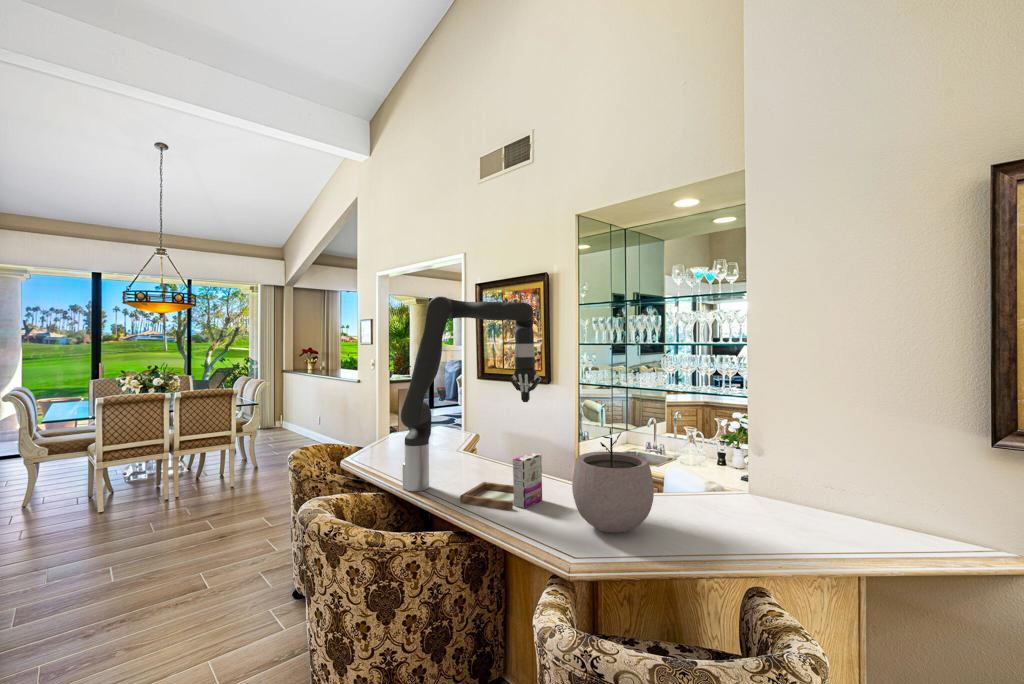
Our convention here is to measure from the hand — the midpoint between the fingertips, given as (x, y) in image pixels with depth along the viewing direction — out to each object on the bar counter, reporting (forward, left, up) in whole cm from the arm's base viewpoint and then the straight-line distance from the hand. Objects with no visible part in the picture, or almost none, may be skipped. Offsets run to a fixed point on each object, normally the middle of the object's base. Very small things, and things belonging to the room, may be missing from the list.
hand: (525, 401), depth 177 cm
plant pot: (+37, -22, -34) cm, 55 cm away
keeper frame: (-6, -11, -34) cm, 36 cm away
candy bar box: (+5, -11, -34) cm, 36 cm away
